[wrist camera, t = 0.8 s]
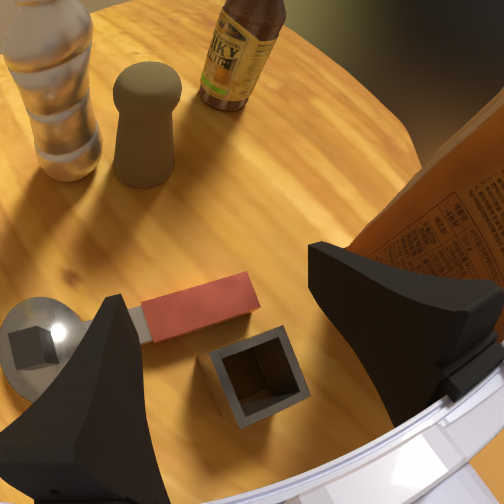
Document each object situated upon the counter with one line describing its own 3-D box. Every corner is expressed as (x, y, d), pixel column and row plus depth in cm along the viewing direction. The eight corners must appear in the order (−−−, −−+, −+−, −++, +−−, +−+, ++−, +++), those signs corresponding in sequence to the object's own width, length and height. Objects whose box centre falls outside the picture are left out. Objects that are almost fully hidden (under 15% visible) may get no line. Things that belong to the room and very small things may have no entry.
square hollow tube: (278, 391, 24) (311, 395, 19) (220, 415, 22) (240, 429, 17) (255, 335, 25) (283, 325, 20) (196, 356, 23) (208, 352, 18)
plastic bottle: (84, 199, 25) (44, -12, 7) (31, 178, 24) (-29, -4, 6) (116, 148, 28) (121, -48, 10) (65, 131, 27) (44, -45, 9)
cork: (104, 181, 26) (91, 92, 17) (126, 134, 29) (127, 46, 19) (164, 195, 28) (176, 107, 18) (181, 146, 30) (200, 59, 20)
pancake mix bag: (396, 414, 26) (669, 373, 1) (290, 266, 29) (562, 22, 4) (428, 370, 29) (661, 301, 4) (335, 232, 32) (554, 37, 7)
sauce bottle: (190, 84, 34) (231, -63, 16) (235, 79, 36) (289, -53, 19) (208, 118, 32) (265, -46, 15) (257, 111, 35) (327, -31, 17)
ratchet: (262, 340, 25) (288, 332, 21) (27, 410, 17) (-3, 417, 12) (229, 253, 27) (246, 225, 23) (2, 315, 19) (-29, 301, 14)
